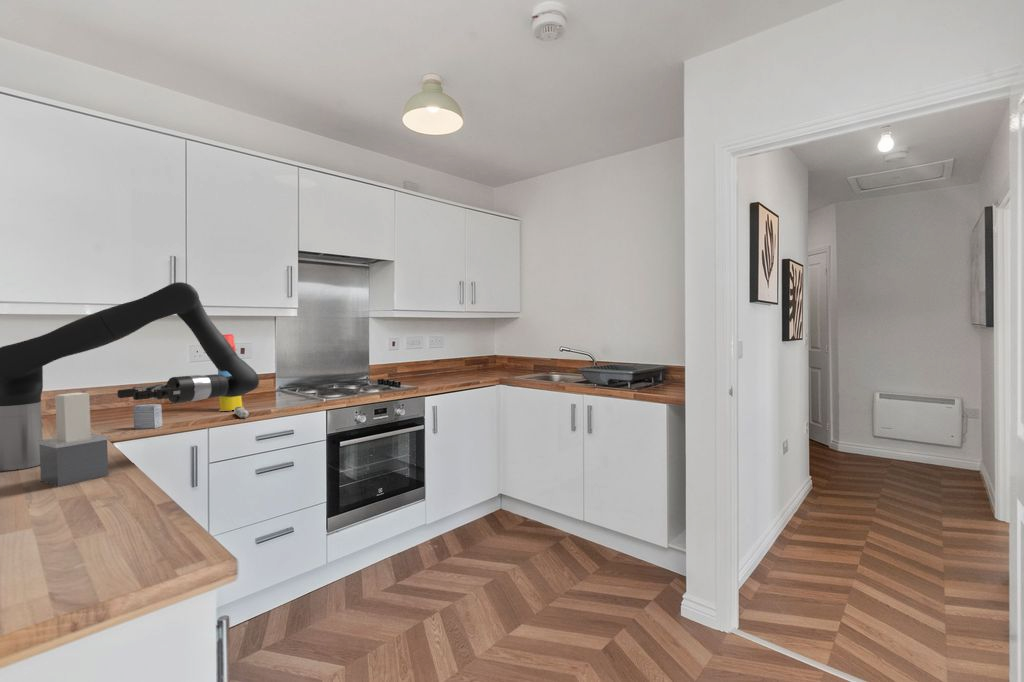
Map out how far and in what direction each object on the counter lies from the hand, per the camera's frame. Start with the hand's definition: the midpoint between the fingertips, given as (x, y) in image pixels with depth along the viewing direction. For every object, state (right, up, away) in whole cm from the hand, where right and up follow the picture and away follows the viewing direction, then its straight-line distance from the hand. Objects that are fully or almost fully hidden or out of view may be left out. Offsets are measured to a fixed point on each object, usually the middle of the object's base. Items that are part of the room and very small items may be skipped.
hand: (125, 395), depth 136 cm
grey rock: (-11, -18, +79) cm, 82 cm away
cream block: (-6, -10, -9) cm, 15 cm away
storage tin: (-6, -20, -9) cm, 23 cm away
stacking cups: (-25, -17, +96) cm, 101 cm away
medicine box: (-35, -19, +57) cm, 69 cm away
